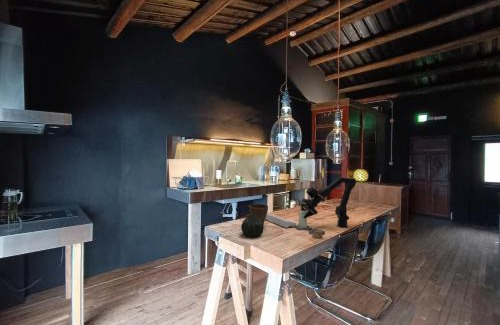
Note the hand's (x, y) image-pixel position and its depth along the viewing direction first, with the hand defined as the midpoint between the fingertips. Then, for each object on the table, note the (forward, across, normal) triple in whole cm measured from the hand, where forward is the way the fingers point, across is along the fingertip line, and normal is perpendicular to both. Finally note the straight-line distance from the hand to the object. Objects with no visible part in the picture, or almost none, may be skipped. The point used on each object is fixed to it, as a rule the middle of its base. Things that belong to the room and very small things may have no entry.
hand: (301, 216), depth 190 cm
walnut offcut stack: (+5, +22, +8) cm, 24 cm away
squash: (+36, +12, -23) cm, 44 cm away
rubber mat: (+5, 0, +7) cm, 9 cm away
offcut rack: (+2, +15, +10) cm, 18 cm away
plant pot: (+29, -8, -16) cm, 34 cm away
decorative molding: (+15, -18, -3) cm, 23 cm away
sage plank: (+5, 0, +7) cm, 8 cm away
